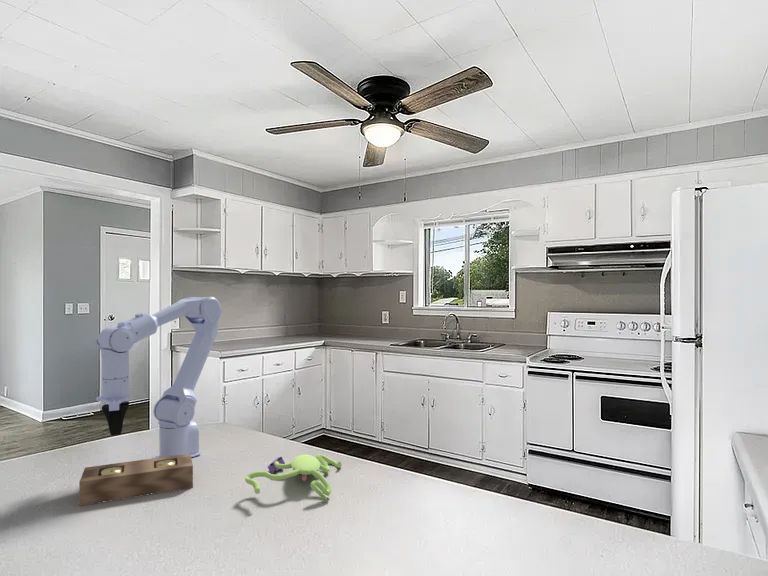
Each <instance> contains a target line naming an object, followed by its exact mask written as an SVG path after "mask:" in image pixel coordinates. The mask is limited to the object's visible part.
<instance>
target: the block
mask: <svg viewBox="0 0 768 576" xmlns="http://www.w3.org/2000/svg"><path fill="white" fill-rule="evenodd" d="M164 460H174V461H175V465H172V466H165V467H158V468H156V464H157V463H158V462H160V461H164ZM112 467H120V468H122V473H116V474H109V475H102V476H101V471H102V470H104V469H107V468H112ZM193 487H194V465H193V460H192V457H191V454H190V453H189V454H182V455H175V456H167V457H160V458H152V457H151V458H146V459H139V460H131V461H124V462H116V463H109V464H103V465H95V466H87V467H84V468H83V472H82V475H81V476H80V480H79V488H78V489H79V492H78V493H79V495H78V496H79V498H78V499H79V501H78V503H79V505H78V506H79V507H81V505H82V506H87V505H86V504H89V505H92V504H91V503H95V504H99V503H98V502H101V503H104V502H103V501H107V502H111V501H110V500H113V501H118V500H117V499H119V500H123V499H122V498H125V499H130V498H129V497H132V498H136V497H135V496H138V497H141V496H140V495H144V496H148V495H147V494H150V495H152V494H151V493H156V494H161V493H160V492H162V493H167V492H166V491H168V492H174V491H173V490H175V491H179V489H181V490H186V489H191V488H192V489H193ZM158 492H159V493H158Z"/></svg>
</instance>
